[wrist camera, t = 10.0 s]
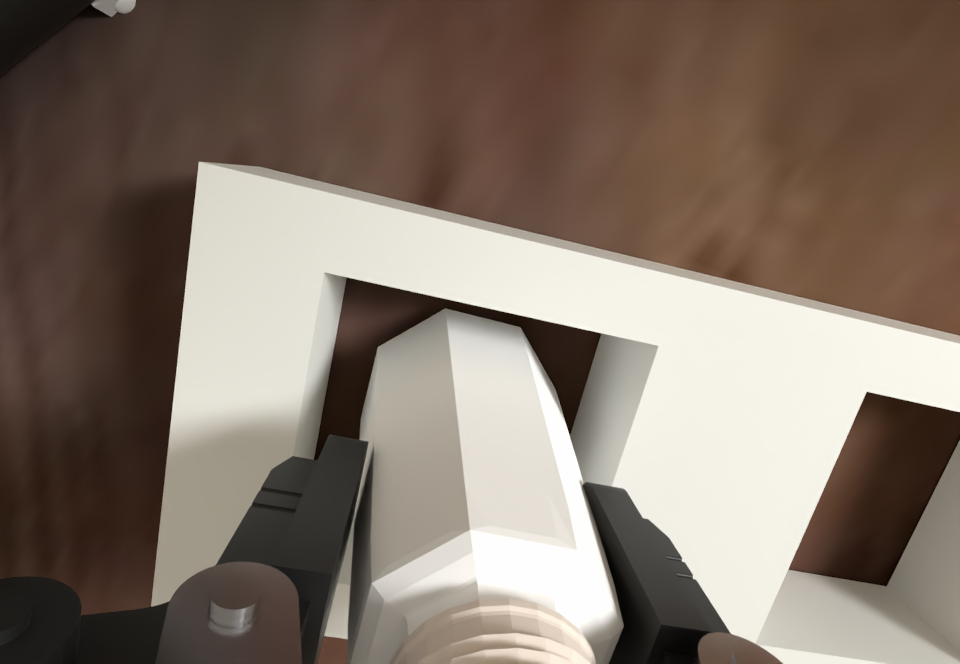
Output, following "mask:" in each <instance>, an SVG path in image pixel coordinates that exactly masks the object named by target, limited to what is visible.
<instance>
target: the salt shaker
mask: <svg viewBox="0 0 960 664" xmlns="http://www.w3.org/2000/svg"><path fill="white" fill-rule="evenodd" d="M359 440H363V441H368V442H369V443H368V449H367V454H366V459H365V464H364V468H363V473H362V478H361V483H360V488H359V493H358V497H357V502H356V507H355V518H354V534H353V550H352V566H351V582H350V598H349V614H348V664H609V661H610V659H611V657H612V654H613V652H614V649H615V647H616V644H617V642H618V639H619V637H620V635H621V632H622V630H623V627H624V624H623V620H622V616H621V611H620V607H619V603H618V598H617V594H616V589H615V585H614V581H613V578H612V575H611V572H610V568H609V565H608V562H607V558H606V555H605V552H604V548H603V545H602V542H601V538H600V535H599V532H598V528H597V525H596V522H595V519H594V516H593V513H592V511H591V508H590V505H589V502H588V499H587V496H586V493H585V490H584V487H583V484H584V482H583V479H582V475H581V472H580V469H579V465H578V462H577V459H576V455H575V452H574V449H573V445H572V442H571V439H570V435H569V432H568V429H567V425H566V422H565V419H564V415H563V412H562V409H561V406H560V402H559V399H558V396H557V392H556V389H555V387H554V386H553V384H552V382H551V380H550V378H549V377H548V375H547V373H546V371H545V370H544V368H543V366H542V364H541V363H540V361H539V359H538V357H537V355H536V354H535V352H534V350H533V348H532V347H531V345H530V343H529V341H528V340H527V338H526V336H525V334H524V332H523V331H522V329H521V327H518V326H514V325H510V324H506V323H502V322H498V321H494V320H490V319H486V318H482V317H478V316H474V315H470V314H466V313H462V312H458V311H454V310H450V309H446V308H445V309H443V310H442V311H440V312H438V313H436V314H435V315H433V316H431V317H429V318H428V319H426V320H424V321H422V322H421V323H419V324H417V325H416V326H414V327H412V328H410V329H409V330H407V331H405V332H403V333H402V334H400V335H398V336H396V337H395V338H393V339H391V340H389V341H388V342H386V343H384V344H382V345H381V346H379V347H378V348H377V352H376V356H375V361H374V365H373V369H372V373H371V377H370V381H369V386H368V390H367V394H366V398H365V402H364V406H363V411H362V415H361V423H360V438H359Z"/></svg>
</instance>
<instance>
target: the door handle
mask: <svg viewBox="0 0 960 664" xmlns="http://www.w3.org/2000/svg"><path fill="white" fill-rule="evenodd" d="M135 3H136V0H0V76H1V75H2V74H4V73H5V72H6V71H7V70H9V69H10V68H11V67H12V66H14V65H15V64H16V63H17V62H19V61H20V60H21V59H22V58H24V57H25V56H26V55H27V54H29V53H30V52H31V51H33V50H34V49H35V48H36V47H38V46H39V45H40V44H41V43H43V42H44V41H45V40H46V39H48V38H49V37H50V36H51V35H53V34H54V33H55V32H56V31H58V30H59V29H60V28H61V27H63V26H64V25H65V24H66V23H68V22H69V21H70V20H71V19H73V18H74V17H75V16H76V15H78V14H79V13H80V12H81V11H83V10H84V9H85V8H86V7H88V6H89V5H90V4H91V5H92V6H93V7H94V8H96V9H98V10H100V11H102V12H103V13H105V14H107V15H109V16H110V17H112V16H113V15H115V14H116V13H117V12H118V13H122V14H125V13H129V12H131V11H132V10H133V9H134V7H135Z"/></svg>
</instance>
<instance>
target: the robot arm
mask: <svg viewBox="0 0 960 664" xmlns="http://www.w3.org/2000/svg"><path fill="white" fill-rule="evenodd" d="M368 443H369V442H368V441H363V440H357V439H352V438H346V437H341V436H335V435H329V436H328V438H327V440H326V442H325V445H324V447H323V449H322V452H321V454H320V456H319V458H318V460H312V459H307V458H301V457H295V456H292V457H290V458H289V459H287V460H285V461H284V462H282V463H281V464H279V465H277V466H276V467H274V468H273V469H272V470H271V471H270V473H269V475H268V476H267V478H266V480H265V482H264V483H263V485H262V487H261V490H260V491H259V492H258V494H257V495H256V497H255V499H254V500H253V502H252V506H250V507H249V509H248V511H247V512H246V514H245V516H244V518H243V519H242V521H241V523H240V524H239V526H238V528H237V530H236V531H235V533H234V535H233V536H232V538H231V540H230V542H229V543H228V545H227V547H226V548H225V550H224V552H223V554H222V555H221V557H220V559H219V560H218V562H217V564H216V566H213V567H209V568H207V569H205V570H202V571H200V572H198V573H196V574H195V575H193V576H191V577H190V578H189V579H187V580H186V581H185V582H184V583H182V584H181V585H180V587H179V588H178V589H177V590H176V591H175V593H174V594H173V596H172V598H171V599H170V601H168V602H166V603H163V604H160V605H156V606H152V607H148V608H143V609H136V610H129V611H119V612H110V613H100V614H91V615H82V616H81V602H80V599H79V597H78V595H77V594H76V592H75V591H74V590H73V589H71V588H70V587H69V586H67V585H65V584H64V583H62V582H59V581H56V580H53V579H48V578H42V577H12V578H5V579H0V664H317V662H318V658H319V654H320V650H321V646H322V642H323V638H324V634H325V631H326V627H327V623H328V619H329V615H330V611H331V607H332V603H333V599H334V595H335V591H336V587H337V583H338V579H339V575H340V571H341V568H342V564H343V560H344V556H345V552H346V548H347V544H348V539H349V535H350V530H351V526H352V521H353V517H354V512H355V507H356V502H357V497H358V493H359V488H360V483H361V478H362V473H363V468H364V464H365V459H366V454H367V449H368ZM583 487H584V490H585V493H586V496H587V499H588V502H589V505H590V508H591V511H592V513H593V516H594V519H595V522H596V525H597V528H598V532H599V535H600V538H601V542H602V545H603V548H604V552H605V555H606V558H607V562H608V565H609V568H610V572H611V575H612V578H613V581H614V585H615V589H616V594H617V598H618V603H619V607H620V611H621V616H622V620H623V624H624V627H623V630H622V632H621V635H620V637H619V639H618V642H617V644H616V647H615V649H614V652H613V654H612V657H611V659H610V661H609V664H783V663H782V662H781V661H780V660H778V659H777V658H776V657H775V656H774V655H772V654H771V653H769V652H768V651H767V650H765V649H763V648H762V647H760V646H758V645H757V644H755V643H753V642H751V641H749V640H747V639H744V638H742V637H739V636H736V635H733V634H731V633H730V632H729V630H728V628H727V627H726V625H725V624H724V622H723V621H722V619H721V618H720V616H719V614H718V613H717V611H716V610H715V608H714V607H713V605H712V604H711V602H710V600H709V599H708V597H707V596H706V594H705V593H704V591H703V590H702V588H701V586H700V585H699V583H698V582H697V580H696V579H693V574H692V572H691V571H690V569H689V568H688V566H687V565H686V563H685V562H682V557H681V555H680V554H679V552H678V551H677V549H676V548H675V546H674V545H673V543H672V541H671V540H670V538H669V537H668V536H667V535H665V534H664V533H663V532H662V531H661V530H660V529H659V528H658V527H656V526H655V525H654V524H653V523H652V522H651V521H650V520H649V519H645V518H642V516H641V514H640V513H639V511H638V509H637V508H636V506H635V504H634V503H633V501H632V499H631V498H630V496H629V494H628V493H627V491H626V490H625V489H623V488H618V487H612V486H607V485H601V484H596V483H590V482H585V483H584V484H583Z"/></svg>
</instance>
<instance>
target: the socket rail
mask: <svg viewBox="0 0 960 664" xmlns="http://www.w3.org/2000/svg"><path fill="white" fill-rule="evenodd" d="M347 277H348V278H352V279H357V280H361V281H366V282H370V283H375V284H380V285H384V286H389V287H393V288H398V289H402V290H407V291H411V292H416V293H420V294H425V295H430V296H434V297H439V298H443V299H448V300H452V301H457V302H461V303H466V304H470V305H475V306H480V307H484V308H489V309H493V310H498V311H502V312H507V313H511V314H516V315H520V316H525V317H530V318H534V319H539V320H543V321H548V322H552V323H557V324H561V325H566V326H570V327H575V328H580V329H584V330H589V331H593V332H598V333H601V336H600V339H599V343H598V346H597V349H596V352H595V356H594V359H593V362H592V365H591V369H590V372H589V375H588V379H587V382H586V385H585V388H584V392H583V395H582V398H581V401H580V405H579V408H578V411H577V415H576V418H575V421H574V424H573V428H572V431H571V434H570V439H571V442H572V445H573V449H574V452H575V455H576V459H577V462H578V465H579V469H580V472H581V475H582V479H583V482H584V483H585V482H590V483H596V484H601V485H607V486H612V487H618V488H623V489H625V490H626V491H627V493H628V494H629V496H630V498H631V499H632V501H633V503H634V504H635V506H636V508H637V509H638V511H639V513H640V514H641V516H642V518H645V519H649V520H650V521H651V522H652V523H653V524H654V525H655V526H656V527H658V528H659V529H660V530H661V531H662V532H663V533H664V534H665V535H667V536H668V537H669V538H670V540H671V541H672V543H673V545H674V546H675V548H676V549H677V551H678V552H679V554H680V555H681V557H682V562H685V563H686V565H687V566H688V568H689V569H690V571H691V572H692V574H693V579H696V580H697V582H698V583H699V585H700V586H701V588H702V590H703V591H704V593H705V594H706V596H707V597H708V599H709V600H710V602H711V604H712V605H713V607H714V608H715V610H716V611H717V613H718V614H719V616H720V618H721V619H722V621H723V622H724V624H725V625H726V627H727V628H728V630H729V632H730V633H731V634H733V635H736V636H739V637H742V638H744V639H747V640H749V641H751V642H753V643H755V644H757V645H758V646H760V647H762V648H763V649H765V650H767V651H768V652H769V653H771V654H772V655H774V656H775V657H776V658H777V659H778V660H780V661H781V662H782V663H783V664H960V440H959V442H958V444H957V446H956V448H955V450H954V452H953V454H952V456H951V458H950V460H949V462H948V464H947V466H946V468H945V470H944V472H943V474H942V476H941V478H940V480H939V482H938V484H937V486H936V488H935V490H934V492H933V494H932V496H931V498H930V500H929V502H928V504H927V506H926V508H925V510H924V512H923V514H922V516H921V518H920V520H919V522H918V524H917V526H916V528H915V530H914V532H913V534H912V536H911V539H910V541H909V543H908V545H907V547H906V549H905V551H904V553H903V555H902V557H901V559H900V561H899V563H898V565H897V567H896V569H895V571H894V573H893V575H892V577H891V579H890V581H889V583H888V585H887V586H882V585H876V584H870V583H864V582H858V581H852V580H846V579H840V578H834V577H828V576H822V575H816V574H810V573H804V572H798V571H793V570H788V569H789V566H790V564H791V562H792V560H793V557H794V555H795V553H796V551H797V548H798V546H799V544H800V541H801V539H802V537H803V535H804V532H805V530H806V528H807V526H808V523H809V521H810V519H811V517H812V514H813V512H814V510H815V508H816V505H817V503H818V501H819V499H820V496H821V494H822V492H823V490H824V487H825V485H826V483H827V480H828V478H829V476H830V474H831V471H832V469H833V467H834V465H835V462H836V460H837V458H838V456H839V453H840V451H841V449H842V447H843V444H844V442H845V440H846V438H847V435H848V433H849V431H850V429H851V426H852V424H853V422H854V419H855V417H856V415H857V413H858V410H859V408H860V406H861V404H862V401H863V399H864V397H865V395H866V392H870V393H875V394H880V395H884V396H889V397H893V398H898V399H902V400H907V401H911V402H916V403H920V404H925V405H929V406H934V407H939V408H943V409H948V410H952V411H957V412H960V336H959V335H955V334H950V333H946V332H942V331H938V330H934V329H930V328H926V327H921V326H917V325H913V324H909V323H905V322H901V321H897V320H892V319H888V318H884V317H880V316H876V315H872V314H868V313H863V312H859V311H855V310H851V309H847V308H843V307H839V306H834V305H830V304H826V303H822V302H818V301H814V300H810V299H805V298H801V297H797V296H793V295H789V294H785V293H781V292H776V291H772V290H768V289H764V288H760V287H756V286H752V285H747V284H743V283H739V282H735V281H731V280H727V279H723V278H718V277H714V276H710V275H706V274H702V273H698V272H694V271H689V270H685V269H681V268H677V267H673V266H669V265H665V264H660V263H656V262H652V261H648V260H644V259H640V258H636V257H632V256H627V255H623V254H619V253H615V252H611V251H607V250H603V249H598V248H594V247H590V246H586V245H582V244H578V243H574V242H569V241H565V240H561V239H557V238H553V237H549V236H545V235H540V234H536V233H532V232H528V231H524V230H520V229H516V228H511V227H507V226H503V225H499V224H495V223H491V222H487V221H482V220H478V219H474V218H470V217H466V216H462V215H458V214H453V213H449V212H445V211H441V210H437V209H433V208H429V207H424V206H420V205H416V204H412V203H408V202H404V201H400V200H395V199H391V198H387V197H383V196H379V195H375V194H371V193H366V192H362V191H358V190H354V189H350V188H346V187H342V186H337V185H333V184H329V183H325V182H321V181H317V180H313V179H308V178H304V177H300V176H296V175H292V174H288V173H284V172H279V171H275V170H271V169H267V168H263V167H257V166H245V165H233V164H221V163H209V162H199V166H198V175H197V184H196V194H195V203H194V212H193V221H192V231H191V240H190V249H189V259H188V268H187V277H186V287H185V296H184V305H183V314H182V324H181V333H180V342H179V352H178V361H177V370H176V379H175V389H174V398H173V407H172V417H171V426H170V435H169V445H168V454H167V463H166V472H165V482H164V491H163V500H162V510H161V519H160V528H159V537H158V547H157V556H156V565H155V575H154V584H153V593H152V603H151V607H152V606H156V605H160V604H163V603H166V602H168V601H170V599H171V598H172V596H173V594H174V593H175V591H176V590H177V589H178V588H179V587H180V585H181V584H182V583H184V582H185V581H186V580H187V579H189V578H190V577H191V576H193V575H195V574H196V573H198V572H200V571H202V570H205V569H207V568H209V567H213V566H216V564H217V562H218V560H219V559H220V557H221V555H222V554H223V552H224V550H225V548H226V547H227V545H228V543H229V542H230V540H231V538H232V536H233V535H234V533H235V531H236V530H237V528H238V526H239V524H240V523H241V521H242V519H243V518H244V516H245V514H246V512H247V511H248V509H249V507H250V506H252V502H253V500H254V499H255V497H256V495H257V494H258V492H259V491H260V490H261V487H262V485H263V483H264V482H265V480H266V478H267V476H268V475H269V473H270V471H271V470H272V469H273V468H274V467H276V466H277V465H279V464H281V463H282V462H284V461H285V460H287V459H289V458H290V457H292V456H295V457H301V458H307V459H312V460H314V456H315V451H316V445H317V440H318V434H319V429H320V423H321V418H322V412H323V406H324V401H325V395H326V390H327V384H328V379H329V373H330V368H331V362H332V357H333V351H334V346H335V340H336V335H337V329H338V324H339V318H340V313H341V307H342V302H343V296H344V291H345V285H346V279H347ZM354 518H355V512H354V517H353V521H352V526H351V530H350V535H349V539H348V544H347V548H346V552H345V556H344V560H343V564H342V568H341V571H340V575H339V579H338V583H337V587H336V591H335V595H334V599H333V603H332V607H331V611H330V615H329V619H328V623H327V627H326V631H325V634H324V636H329V637H337V638H344V639H348V614H349V598H350V582H351V566H352V550H353V534H354Z"/></svg>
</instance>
